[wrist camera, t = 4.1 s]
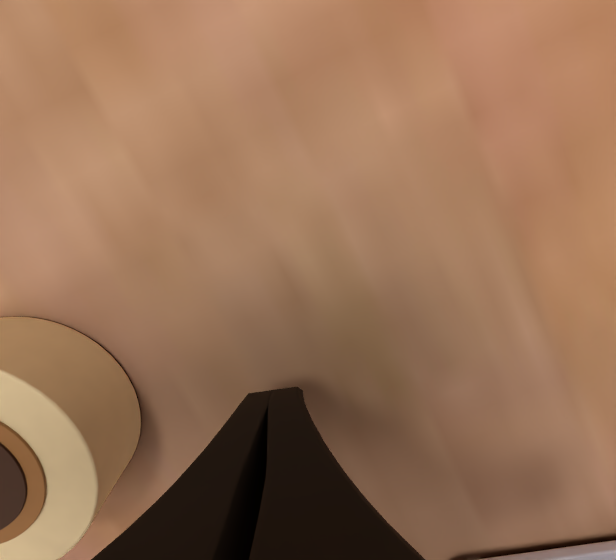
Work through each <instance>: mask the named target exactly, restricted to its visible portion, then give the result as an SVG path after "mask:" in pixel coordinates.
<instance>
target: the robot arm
mask: <svg viewBox="0 0 616 560" xmlns="http://www.w3.org/2000/svg"><path fill="white" fill-rule="evenodd" d="M91 560H425V559H424V558H423V557H422V556H421V555H420V554H419V553H418V552H417V551H416V550H415V549H414V548H413V547H412V546H411V545H410V544H409V543H408V542H407V541H406V540H405V539H404V538H403V537H402V536H401V535H400V534H399V533H398V532H397V531H396V530H395V529H394V528H393V527H392V526H391V525H389V524H388V523H387V521H386V520H385V519H384V518H383V517H382V516H381V515H380V514H379V513H378V512H377V510H376V509H375V508H374V507H373V506H372V505H371V504H370V503H369V501H368V500H367V499H366V498H365V497H364V496H363V494H362V493H361V492H360V491H359V489H358V488H357V487H356V486H355V485H354V483H353V482H352V481H351V480H350V478H349V477H348V476H347V474H346V473H345V472H344V470H343V469H342V467H341V466H340V465H339V463H338V462H337V460H336V459H335V457H334V456H333V455H332V453H331V452H330V450H329V448H328V447H327V445H326V444H325V442H324V441H323V439H322V437H321V435H320V433H319V432H318V430H317V428H316V426H315V425H314V423H313V421H312V419H311V417H310V414H309V412H308V410H307V408H306V405H305V402H304V397H303V391H302V390H301V389H300V388H299V387H292V388H284V389H277V390H270V391H263V392H255V393H249V394H248V395H247V396H246V397H245V399H244V400H243V401H242V402H241V404H240V405H239V406H238V407H237V409H236V410H235V411H234V413H233V414H232V415H231V417H230V418H229V419H228V421H227V422H226V423H225V424H224V426H223V427H222V428H221V430H220V431H219V432H218V433H217V435H216V436H215V437H214V438H213V439H212V441H211V442H210V443H209V444H208V446H207V447H206V448H205V449H204V451H203V452H202V453H201V454H200V455H199V456H198V457H197V458H196V460H195V461H194V462H193V463H192V464H191V465H190V466H189V467H188V469H187V470H186V471H185V472H184V473H183V474H182V475H181V476H180V478H179V479H178V480H177V481H176V482H175V483H174V484H173V485H172V486H171V487H170V488H169V489H168V490H167V491H166V492H165V493H164V494H163V495H162V496H161V497H160V498H159V499H158V500H157V501H156V502H155V503H154V504H153V505H152V506H151V507H150V508H149V509H148V510H147V511H146V512H145V513H144V514H143V515H142V516H141V517H139V518H138V519H137V520H136V521H135V522H134V523H133V524H132V525H131V526H130V527H129V528H128V529H127V530H125V531H124V532H123V533H122V534H121V535H120V536H119V537H117V538H116V539H115V540H114V541H113V542H112V543H110V544H109V545H108V546H107V547H106V548H104V549H103V550H102V551H101V552H100V553H98V554H97V555H96V556H95V557H94V558H93V559H91ZM476 560H616V540H613V541H606V542H599V543H592V544H584V545H577V546H570V547H563V548H556V549H548V550H541V551H534V552H527V553H520V554H512V555H505V556H498V557H491V558H484V559H476Z"/></svg>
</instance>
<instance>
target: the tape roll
mask: <svg viewBox="0 0 616 560" xmlns="http://www.w3.org/2000/svg"><path fill="white" fill-rule="evenodd" d="M140 428H141V416H140V408H139V403H138V399H137V396H136V393H135V390H134V388H133V386H132V384H131V382H130V380H129V378H128V376H127V375H126V373H125V372H124V371H123V369H122V368H121V366H120V365H119V364H118V363H117V362H116V360H115V359H114V358H113V357H112V356H111V355H110V354H109V353H108V352H107V351H105V350H104V349H103V348H102V347H101V346H100V345H98V344H97V343H96V342H94V341H93V340H91V339H90V338H88V337H87V336H85V335H83V334H81V333H79V332H78V331H76V330H74V329H71V328H69V327H66V326H64V325H61V324H58V323H55V322H51V321H48V320H43V319H37V318H31V317H2V318H0V560H58V559H60V558H61V557H62V556H64V555H65V554H66V553H67V552H68V551H70V550H71V549H72V548H73V547H74V546H75V545H76V544H77V543H78V542H79V541H80V540H81V538H82V537H83V536H84V534H85V533H86V531H87V530H88V528H89V526H90V525H91V523H92V522H93V520H94V518H95V517H96V515H97V513H98V512H99V510H100V509H101V507H102V505H103V504H104V502H105V500H106V499H107V497H108V495H109V494H110V492H111V491H112V489H113V487H114V486H115V484H116V482H117V481H118V479H119V478H120V476H121V474H122V473H123V471H124V469H125V468H126V466H127V465H128V463H129V461H130V460H131V458H132V456H133V454H134V452H135V450H136V447H137V444H138V440H139V437H140Z"/></svg>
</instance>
